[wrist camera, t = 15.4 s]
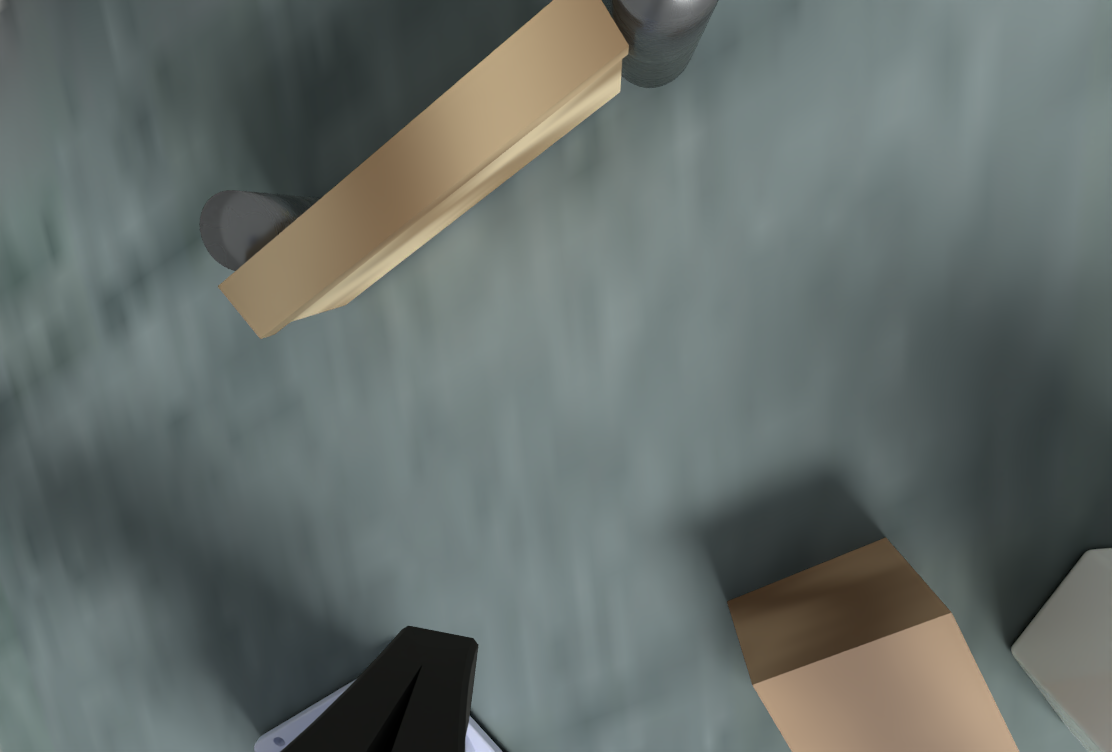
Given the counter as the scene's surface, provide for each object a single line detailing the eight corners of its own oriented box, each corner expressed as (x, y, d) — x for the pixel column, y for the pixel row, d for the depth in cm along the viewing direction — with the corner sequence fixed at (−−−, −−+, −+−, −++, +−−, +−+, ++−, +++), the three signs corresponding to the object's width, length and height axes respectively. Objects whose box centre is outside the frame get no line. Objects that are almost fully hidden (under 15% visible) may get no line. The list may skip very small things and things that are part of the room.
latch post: (324, 272, 18) (238, 287, 14) (284, 223, 18) (184, 223, 14) (366, 236, 18) (290, 240, 14) (326, 185, 17) (235, 173, 13)
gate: (593, 48, 15) (585, -28, 11) (623, 98, 16) (628, 45, 11) (318, 270, 18) (218, 286, 13) (349, 309, 18) (260, 338, 14)
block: (793, 713, 21) (832, 819, 18) (725, 598, 20) (752, 685, 17) (946, 660, 20) (1025, 763, 16) (883, 534, 19) (951, 612, 15)
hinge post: (641, 106, 16) (656, 47, 11) (594, 33, 16) (584, -64, 10) (711, 49, 15) (764, -43, 10) (663, -28, 15) (692, -165, 10)
